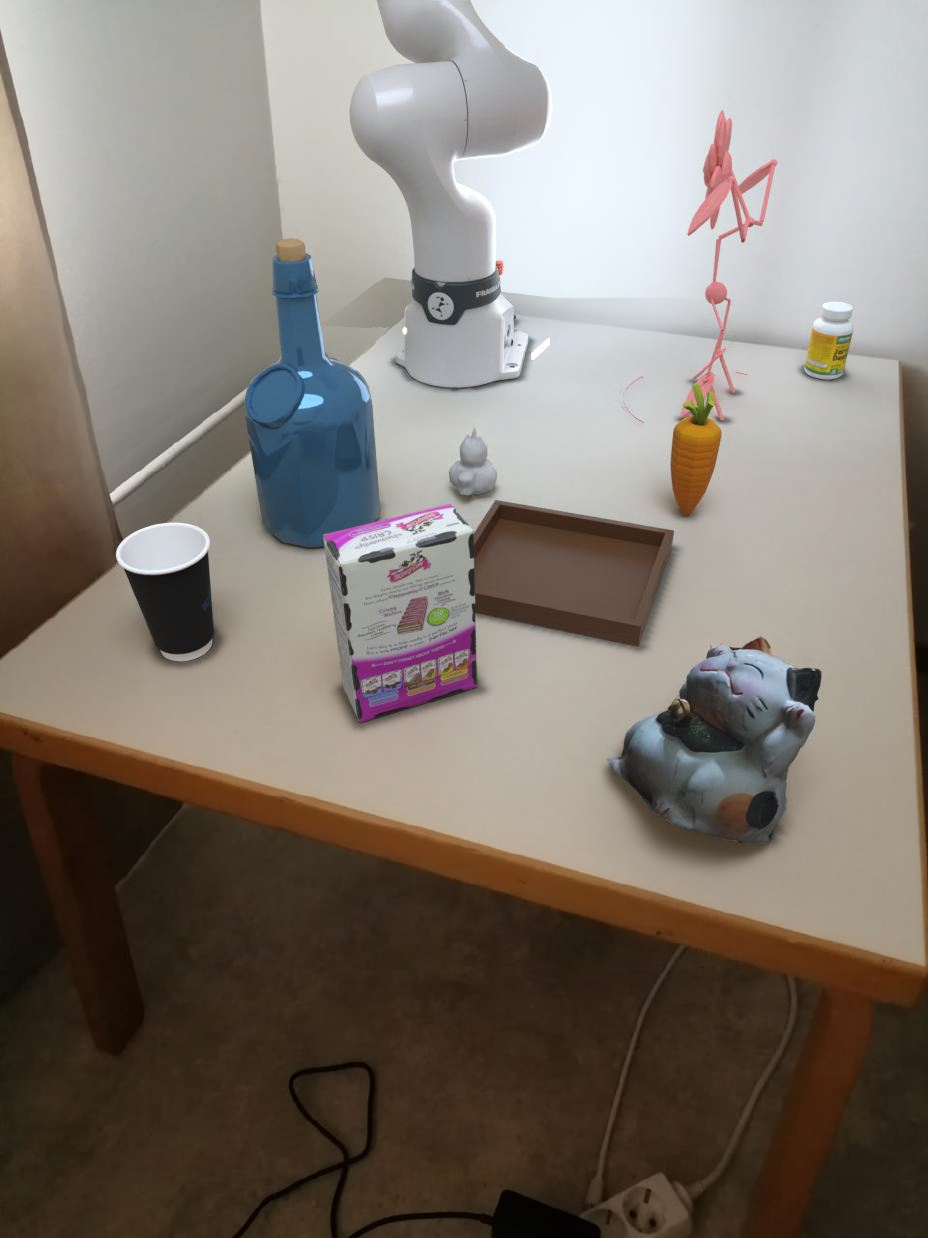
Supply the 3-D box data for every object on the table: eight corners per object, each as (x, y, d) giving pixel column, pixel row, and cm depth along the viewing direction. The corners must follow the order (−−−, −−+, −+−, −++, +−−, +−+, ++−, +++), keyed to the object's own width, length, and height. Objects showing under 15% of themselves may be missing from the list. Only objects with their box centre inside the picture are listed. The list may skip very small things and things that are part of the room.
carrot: (707, 529, 106) (729, 400, 97) (661, 524, 106) (678, 396, 97) (708, 505, 110) (728, 380, 100) (663, 501, 110) (679, 376, 101)
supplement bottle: (815, 362, 141) (830, 296, 135) (849, 372, 138) (866, 305, 132) (796, 372, 138) (810, 306, 132) (830, 383, 135) (846, 315, 129)
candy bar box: (456, 656, 89) (452, 500, 79) (478, 689, 85) (478, 530, 75) (339, 689, 85) (320, 530, 75) (357, 725, 82) (340, 563, 72)
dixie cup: (127, 644, 91) (98, 545, 84) (201, 608, 95) (180, 512, 88) (170, 684, 86) (144, 583, 80) (246, 645, 90) (227, 546, 84)
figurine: (749, 370, 139) (798, 96, 118) (718, 449, 120) (770, 139, 99) (644, 355, 144) (672, 89, 123) (598, 429, 125) (622, 129, 103)
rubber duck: (503, 483, 114) (504, 420, 109) (486, 511, 109) (486, 446, 104) (459, 476, 116) (458, 414, 111) (440, 503, 111) (438, 439, 106)
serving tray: (495, 518, 108) (495, 499, 106) (671, 549, 103) (674, 530, 101) (439, 605, 95) (439, 585, 94) (638, 646, 90) (640, 626, 88)
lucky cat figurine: (588, 742, 80) (656, 588, 76) (713, 776, 83) (784, 629, 79) (653, 844, 66) (740, 662, 62) (800, 879, 69) (891, 708, 65)
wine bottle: (317, 478, 115) (287, 214, 97) (405, 511, 109) (390, 235, 91) (233, 529, 107) (182, 249, 88) (324, 568, 100) (289, 275, 82)
